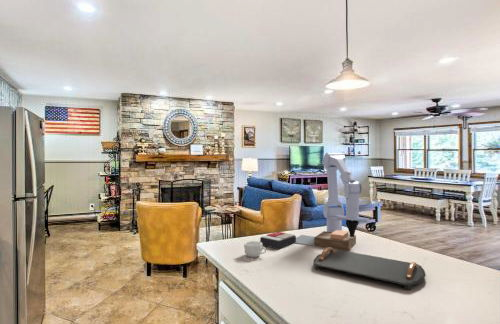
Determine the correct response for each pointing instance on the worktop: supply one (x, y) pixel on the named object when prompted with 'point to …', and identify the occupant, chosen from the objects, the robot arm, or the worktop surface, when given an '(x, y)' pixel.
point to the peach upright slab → (339, 234)
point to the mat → (305, 240)
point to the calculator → (277, 240)
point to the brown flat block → (334, 241)
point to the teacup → (253, 248)
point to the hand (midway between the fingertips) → (352, 236)
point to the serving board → (371, 266)
